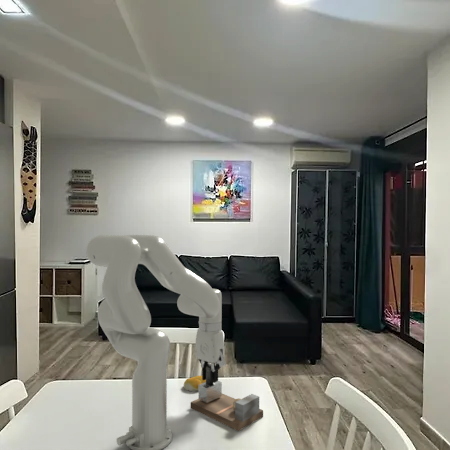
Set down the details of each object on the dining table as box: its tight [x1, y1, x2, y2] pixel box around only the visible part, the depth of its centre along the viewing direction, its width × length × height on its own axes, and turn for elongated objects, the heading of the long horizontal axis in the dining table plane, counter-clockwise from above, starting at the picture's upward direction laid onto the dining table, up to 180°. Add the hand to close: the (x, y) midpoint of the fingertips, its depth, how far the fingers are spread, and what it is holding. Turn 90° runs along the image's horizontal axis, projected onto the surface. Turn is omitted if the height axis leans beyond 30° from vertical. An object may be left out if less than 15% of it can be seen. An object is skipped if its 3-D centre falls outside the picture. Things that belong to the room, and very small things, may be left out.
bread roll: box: [183, 375, 206, 392], centre depth 149 cm, size 8×9×4 cm
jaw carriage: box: [198, 363, 223, 403], centre depth 134 cm, size 7×4×11 cm, turn 137°
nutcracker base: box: [190, 393, 264, 432], centre depth 129 cm, size 12×21×7 cm, turn 47°
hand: (210, 379), depth 134 cm, fingers closed on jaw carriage, 3 cm apart
